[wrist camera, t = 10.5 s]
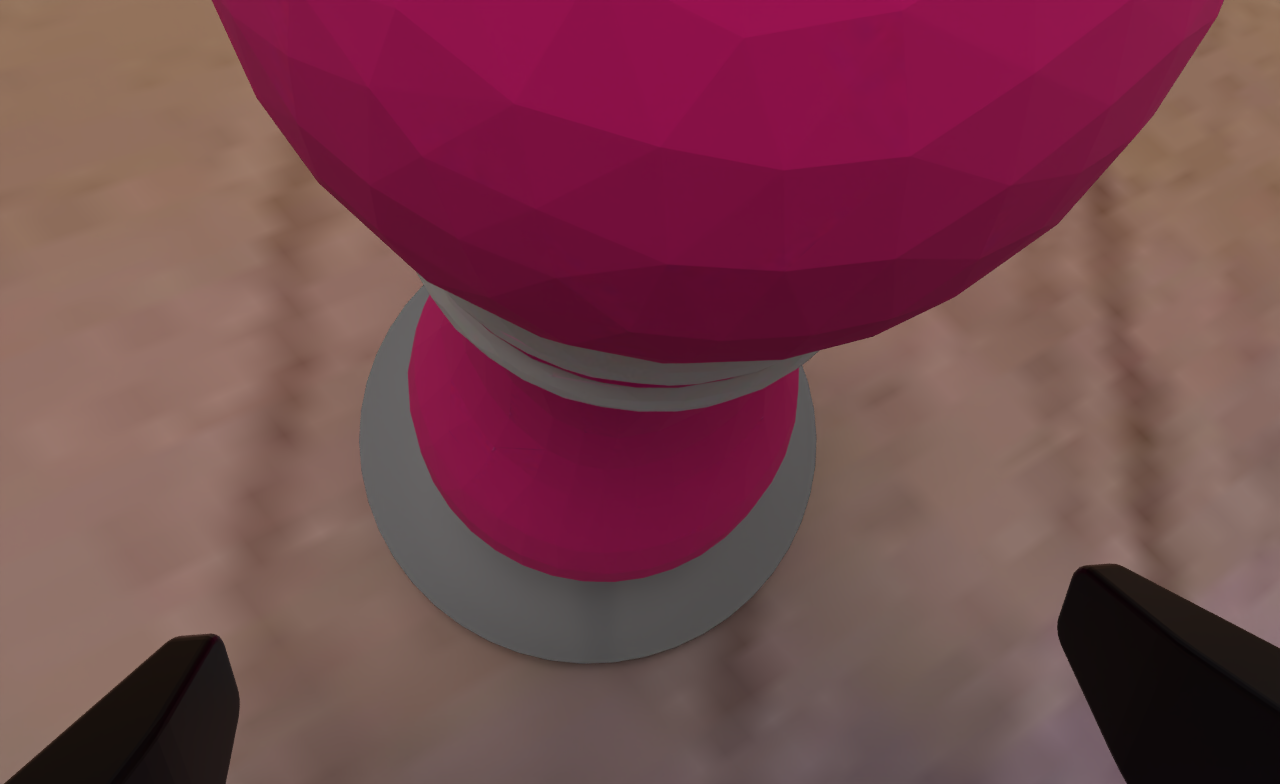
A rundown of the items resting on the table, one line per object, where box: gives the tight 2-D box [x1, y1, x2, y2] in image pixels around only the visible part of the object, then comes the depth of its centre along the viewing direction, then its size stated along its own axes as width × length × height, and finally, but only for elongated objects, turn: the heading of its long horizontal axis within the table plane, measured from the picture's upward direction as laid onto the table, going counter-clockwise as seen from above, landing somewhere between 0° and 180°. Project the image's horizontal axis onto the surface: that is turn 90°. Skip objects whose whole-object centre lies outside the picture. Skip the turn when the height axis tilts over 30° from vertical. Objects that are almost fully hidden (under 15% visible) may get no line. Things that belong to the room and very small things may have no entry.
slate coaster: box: [359, 285, 816, 664], centre depth 21 cm, size 11×11×1 cm
